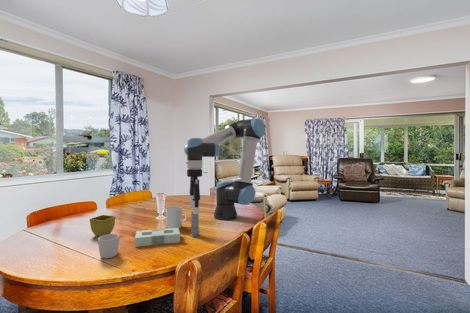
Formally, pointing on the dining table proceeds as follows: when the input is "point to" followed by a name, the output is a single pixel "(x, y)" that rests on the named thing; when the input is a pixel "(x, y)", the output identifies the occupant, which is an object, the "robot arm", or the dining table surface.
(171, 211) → the mug
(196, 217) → the peg
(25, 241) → the dining table surface
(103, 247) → the cup
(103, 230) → the flower pot
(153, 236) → the hole block
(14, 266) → the dining table surface
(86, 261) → the dining table surface
